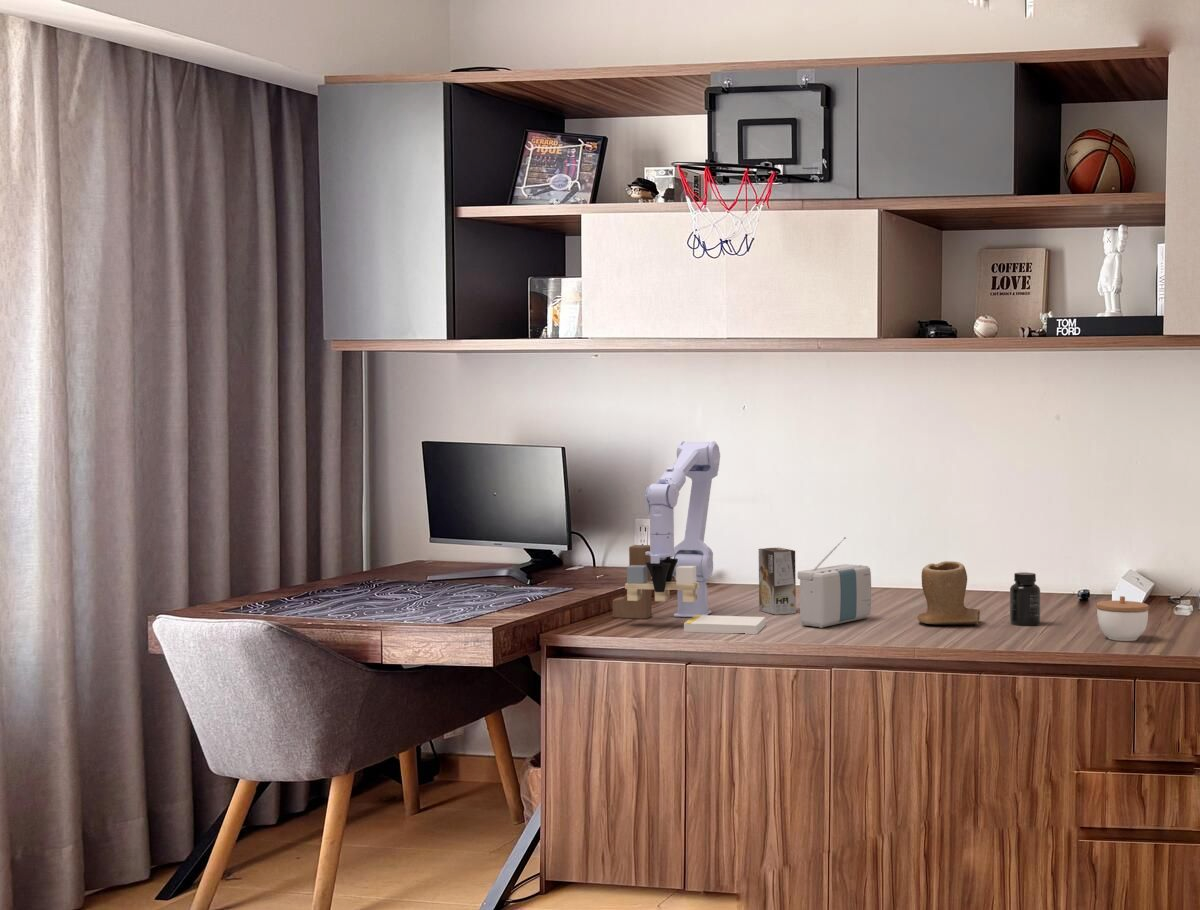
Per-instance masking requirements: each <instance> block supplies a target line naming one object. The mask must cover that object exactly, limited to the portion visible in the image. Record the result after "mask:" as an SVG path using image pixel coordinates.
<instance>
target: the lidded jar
mask: <svg viewBox="0 0 1200 910" xmlns="http://www.w3.org/2000/svg"><path fill="white" fill-rule="evenodd" d="M1149 607H1150V606H1149V604H1147V603H1144V602H1141V601H1132V600H1126V597H1125V596H1119V600H1103V601H1101V600H1100V601H1098V602H1096V611H1097V612H1096V616H1097V622H1098V626H1099V628H1100V630H1101V632H1102V633H1103V634H1104V636H1106V637H1107V639H1108V640H1111V641H1116V642H1133V641H1134V642H1135V641H1137V640H1138V638H1140V636H1142V635H1143V634H1144V632H1145V630H1146V628H1147V625H1148V620H1149V619H1148V618H1149Z"/></svg>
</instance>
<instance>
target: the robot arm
mask: <svg viewBox="0 0 1200 910" xmlns="http://www.w3.org/2000/svg"><path fill="white" fill-rule="evenodd" d="M676 448H677V449H676V459H675V462H674V463H673V465H672V466H667V467H666V469H664V471H663V473H662V474H661V475H660V477H659V478H658V479H657V481H656V483H651V484H650V485H648V486H647V488H646V491H645V495H644V500H645V501H644V502H645V504H646V508H647V511H646V512H647V514H648V515H649V545H650V551H647V552H645V555H650V556H651V562H647V563H646V565H647V568H648V569H649V571H650V574H651V582H653V585H654V589H653V590H654V593H655V592H664V591H665V586H666V582H673V580H672V579H673V578H674V580H675V581H676V567H678V566H696V582H699V588H697V600H695V601H693V602H683V590H677V591H676V592H677V612H675V613H674V614H673V617H677V618H678V617H680V618H682V617H683V618H692V617H693V616H695V615H709V614H711V613H712V610H710V609H709V605H708V602H709V599H708V598H709V597H708V596H709V593H708V591H709V589H708V585H707V581H708V580H709V579H710V578H711V576H712V575H713V572H714V552H713V551H712V548H711V547H710V546H708V545H707V544H706V543H705V534H706V527H707V520H708V519H707V518H708V512H709V502H710V497H711V496H710V495H711V490H712V489H711V488H712V480H713V479H714V478H715V477H717V476H718V474H719V473H718V472H719V468H720V460H721V452H720V447H719V445H718V443H717V442H716V441H714V440H713V441H683V440H682V441H680V442H679V443H678V445H677V447H676ZM687 477H688V478H689V479H691V487H690V496H689V502H688V509H687V518H686V525H685V531H684V539H683V540H681V542H679V543H678V544H677V545H675V534H674V533H675V525H674V524H675V522H674V520H675V519H674V518H675V517H674V515H675V514H674V513H675V512H674V510H675V509H674V508H675V507H676V506H677V504H678V500H679V496H680V491H681V489H682V488H683V486H684V485H685V483H686V481H687Z"/></svg>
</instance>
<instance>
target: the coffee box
mask: <svg viewBox="0 0 1200 910" xmlns="http://www.w3.org/2000/svg"><path fill="white" fill-rule="evenodd" d="M796 578H797V577H796V550H793V549H790V548H789V549H788V548H784V547H767V548H758V596H759V597H758V599H759V601H758V602H759V604H758V609H759V612H760V611H761V612H765V613H768V614H772V615H774V616H775V615H776V616H777V615H790V614H794V615H795V614H796V613H797V609H796V608H797V603H796V601H797V598H796V595H797V592H796V591H797V588H796V583H797V582H796Z"/></svg>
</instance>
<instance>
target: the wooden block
mask: <svg viewBox="0 0 1200 910" xmlns="http://www.w3.org/2000/svg"><path fill="white" fill-rule="evenodd" d="M647 551H650V544H645V545H644V544H634V545H633V544H632V545H630V546H629V548H628V552H629V553H628V555H629V557H628V558H629V559H628V562H629V564H628V566H631V565H646V563H647V562H651V556H650V555H645V552H647ZM647 574H648V582H652V577H651V574H650V571H649V569H648V568H647ZM650 617H652V589H642V598H641V599H639V600H638V601H627V593H626V594H625V595H624V596H619V597H617V598H614V599H613V600H612V618H614V619H634V620H636V619H638V620H647V619H649V618H650Z"/></svg>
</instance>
